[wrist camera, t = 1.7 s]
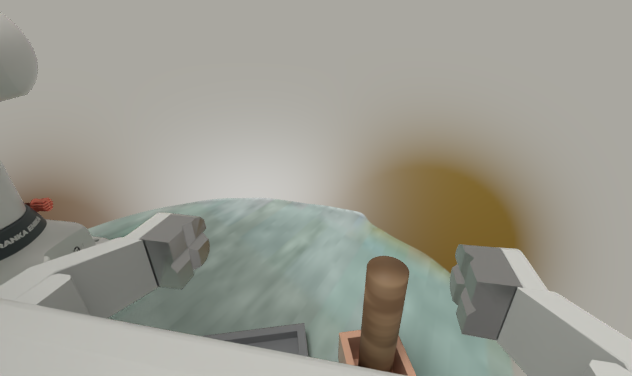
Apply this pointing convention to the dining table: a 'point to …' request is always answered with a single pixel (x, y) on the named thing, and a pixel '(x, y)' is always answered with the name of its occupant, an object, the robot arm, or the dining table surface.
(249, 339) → the tray
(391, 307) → the dowel
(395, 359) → the pot
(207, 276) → the dining table surface
